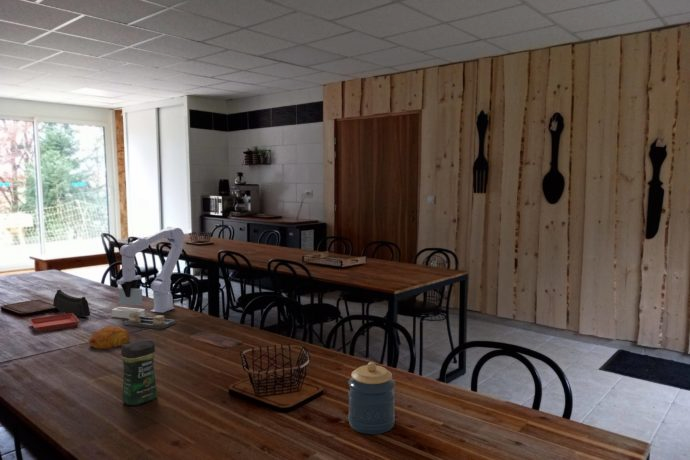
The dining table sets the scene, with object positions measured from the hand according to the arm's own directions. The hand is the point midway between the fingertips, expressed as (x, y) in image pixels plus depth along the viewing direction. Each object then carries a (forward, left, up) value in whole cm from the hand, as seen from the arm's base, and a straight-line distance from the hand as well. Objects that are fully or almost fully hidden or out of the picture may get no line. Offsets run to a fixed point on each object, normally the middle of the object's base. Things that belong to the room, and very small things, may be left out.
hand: (129, 296), depth 245 cm
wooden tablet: (+17, +60, -11) cm, 63 cm away
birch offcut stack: (+9, +11, -10) cm, 18 cm away
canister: (+66, +143, -11) cm, 158 cm away
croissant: (+36, +21, -11) cm, 43 cm away
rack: (+7, +18, -10) cm, 22 cm away
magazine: (+5, -33, -11) cm, 35 cm away
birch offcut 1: (+9, +25, -8) cm, 28 cm away
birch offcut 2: (+9, +25, -11) cm, 28 cm away
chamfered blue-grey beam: (0, 0, -4) cm, 4 cm away
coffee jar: (+74, +71, -11) cm, 103 cm away
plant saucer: (+23, -23, -11) cm, 35 cm away
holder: (0, -1, -10) cm, 10 cm away
